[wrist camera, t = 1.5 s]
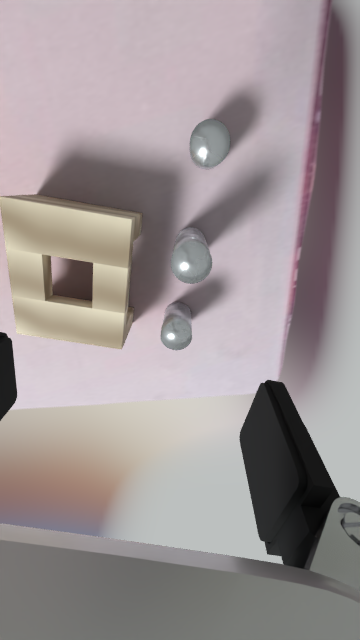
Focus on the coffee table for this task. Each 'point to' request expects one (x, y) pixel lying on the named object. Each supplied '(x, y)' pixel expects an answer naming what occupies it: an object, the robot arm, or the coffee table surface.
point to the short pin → (209, 144)
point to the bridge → (78, 244)
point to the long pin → (191, 256)
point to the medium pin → (176, 326)
